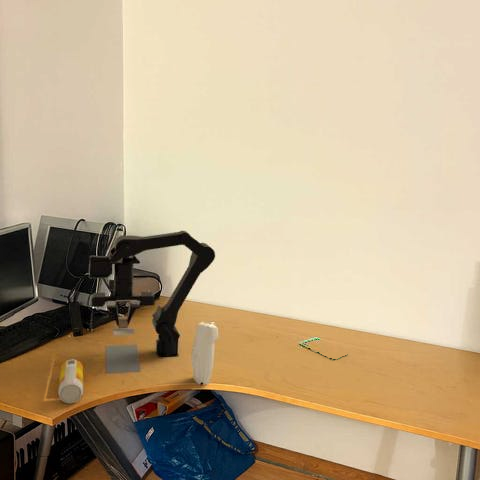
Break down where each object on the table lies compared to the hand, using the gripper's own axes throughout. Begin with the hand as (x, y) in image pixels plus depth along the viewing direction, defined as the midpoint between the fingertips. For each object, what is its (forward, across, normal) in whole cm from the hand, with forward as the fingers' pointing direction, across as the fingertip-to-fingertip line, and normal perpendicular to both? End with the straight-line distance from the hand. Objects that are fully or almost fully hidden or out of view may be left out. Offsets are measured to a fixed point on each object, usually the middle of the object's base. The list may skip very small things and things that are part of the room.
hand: (122, 325), depth 156 cm
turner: (+1, 0, +2) cm, 2 cm away
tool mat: (+11, 0, +2) cm, 11 cm away
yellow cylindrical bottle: (+8, +14, +12) cm, 20 cm away
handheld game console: (+12, -70, 0) cm, 71 cm away
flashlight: (+11, -22, +19) cm, 32 cm away
